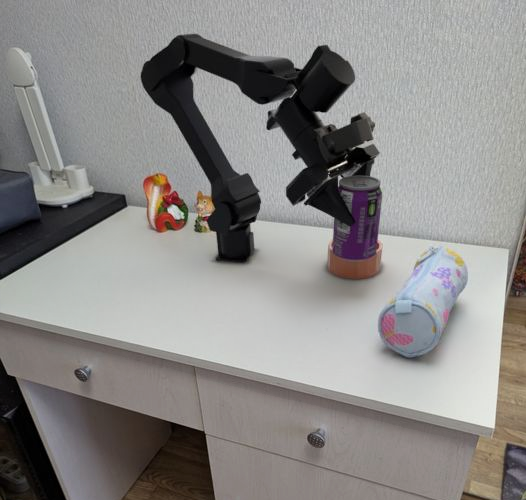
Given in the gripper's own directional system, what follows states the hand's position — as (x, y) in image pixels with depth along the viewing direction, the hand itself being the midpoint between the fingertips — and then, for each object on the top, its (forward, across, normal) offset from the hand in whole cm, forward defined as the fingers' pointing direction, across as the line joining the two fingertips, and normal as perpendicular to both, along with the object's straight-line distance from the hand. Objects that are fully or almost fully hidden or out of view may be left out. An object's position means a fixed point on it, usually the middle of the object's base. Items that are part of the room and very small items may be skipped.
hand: (364, 217), depth 76 cm
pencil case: (+19, -3, +1) cm, 19 cm away
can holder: (+5, +9, +14) cm, 18 cm away
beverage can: (+4, 0, +6) cm, 7 cm away
